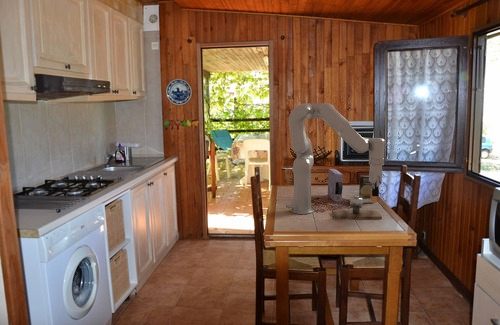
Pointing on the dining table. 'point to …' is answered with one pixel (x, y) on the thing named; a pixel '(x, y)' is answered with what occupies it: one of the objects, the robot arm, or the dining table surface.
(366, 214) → the bayonet base
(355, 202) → the twist collar
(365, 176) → the coffee box
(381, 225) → the dining table surface
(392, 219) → the dining table surface
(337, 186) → the cake pan box
